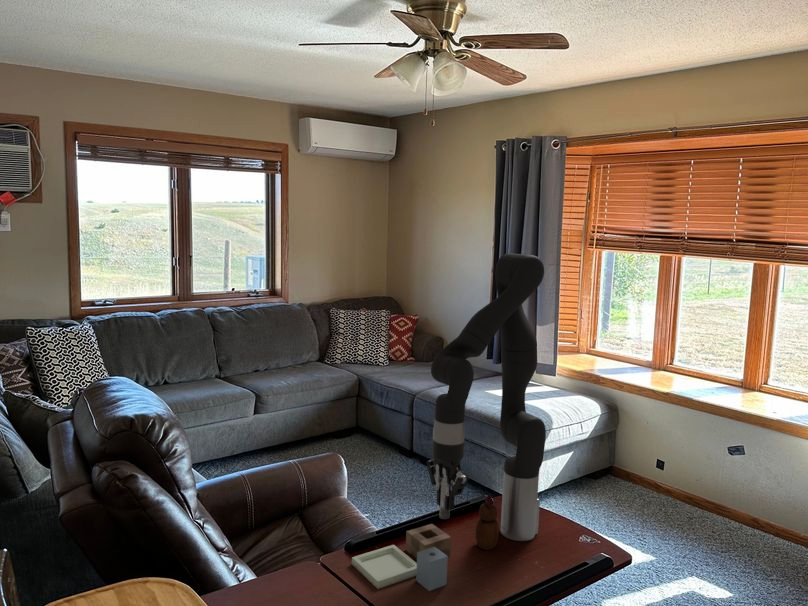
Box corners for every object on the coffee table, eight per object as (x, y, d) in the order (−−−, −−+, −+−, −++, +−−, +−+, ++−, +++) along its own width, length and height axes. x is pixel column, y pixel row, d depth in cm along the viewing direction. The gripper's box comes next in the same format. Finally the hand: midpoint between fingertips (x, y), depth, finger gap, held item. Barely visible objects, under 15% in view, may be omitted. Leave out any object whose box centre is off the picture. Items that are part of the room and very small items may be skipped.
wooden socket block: (431, 541, 166) (432, 523, 166) (450, 555, 160) (451, 537, 159) (405, 549, 162) (406, 531, 161) (424, 564, 155) (424, 545, 155)
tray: (393, 551, 161) (393, 544, 161) (421, 574, 151) (421, 566, 151) (351, 564, 154) (351, 557, 154) (377, 589, 144) (378, 581, 144)
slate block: (433, 574, 151) (434, 546, 150) (446, 584, 147) (447, 556, 146) (416, 580, 148) (417, 551, 148) (428, 591, 144) (430, 561, 143)
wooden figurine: (496, 554, 161) (500, 497, 159) (473, 551, 162) (476, 495, 160) (498, 541, 168) (501, 486, 166) (476, 538, 169) (479, 484, 167)
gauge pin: (445, 513, 157) (447, 474, 156) (451, 517, 155) (453, 478, 154) (437, 516, 155) (439, 476, 154) (443, 520, 153) (445, 480, 152)
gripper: (479, 444, 149) (475, 514, 151) (442, 427, 160) (439, 493, 163) (455, 449, 145) (451, 522, 147) (418, 432, 156) (415, 499, 158)
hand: (445, 506), depth 155 cm, fingers closed on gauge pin, 2 cm apart
